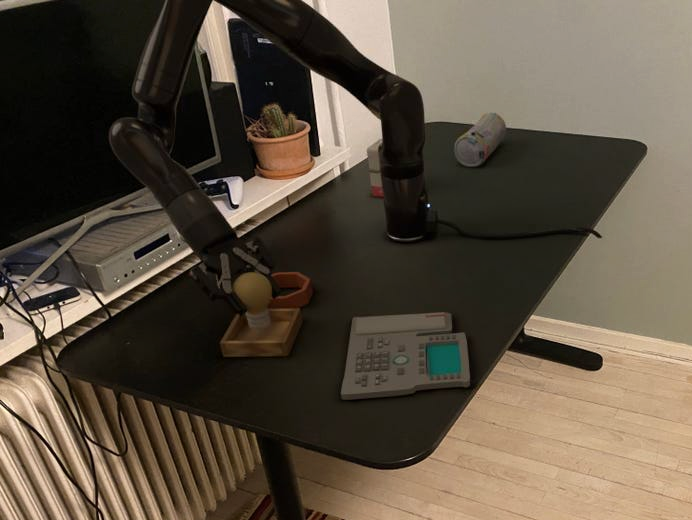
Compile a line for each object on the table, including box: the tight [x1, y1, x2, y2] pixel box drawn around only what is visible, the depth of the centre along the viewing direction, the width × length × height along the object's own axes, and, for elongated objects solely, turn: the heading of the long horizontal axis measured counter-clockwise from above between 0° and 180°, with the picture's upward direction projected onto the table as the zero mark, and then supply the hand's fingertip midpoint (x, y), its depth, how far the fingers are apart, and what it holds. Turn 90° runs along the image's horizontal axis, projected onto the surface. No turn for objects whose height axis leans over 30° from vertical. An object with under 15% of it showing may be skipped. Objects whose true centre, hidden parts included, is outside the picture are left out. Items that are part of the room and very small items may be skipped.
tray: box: [219, 307, 304, 358], centre depth 126 cm, size 11×11×3 cm
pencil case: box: [453, 112, 507, 168], centre depth 198 cm, size 21×9×10 cm, turn 160°
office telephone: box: [340, 311, 471, 401], centre depth 121 cm, size 23×3×20 cm
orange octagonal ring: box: [267, 271, 314, 309], centre depth 138 cm, size 10×10×3 cm
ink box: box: [366, 138, 383, 198], centre depth 179 cm, size 9×5×12 cm, turn 161°
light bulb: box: [231, 272, 272, 330], centre depth 123 cm, size 6×6×10 cm
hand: (261, 304), depth 122 cm, fingers closed on light bulb, 6 cm apart
